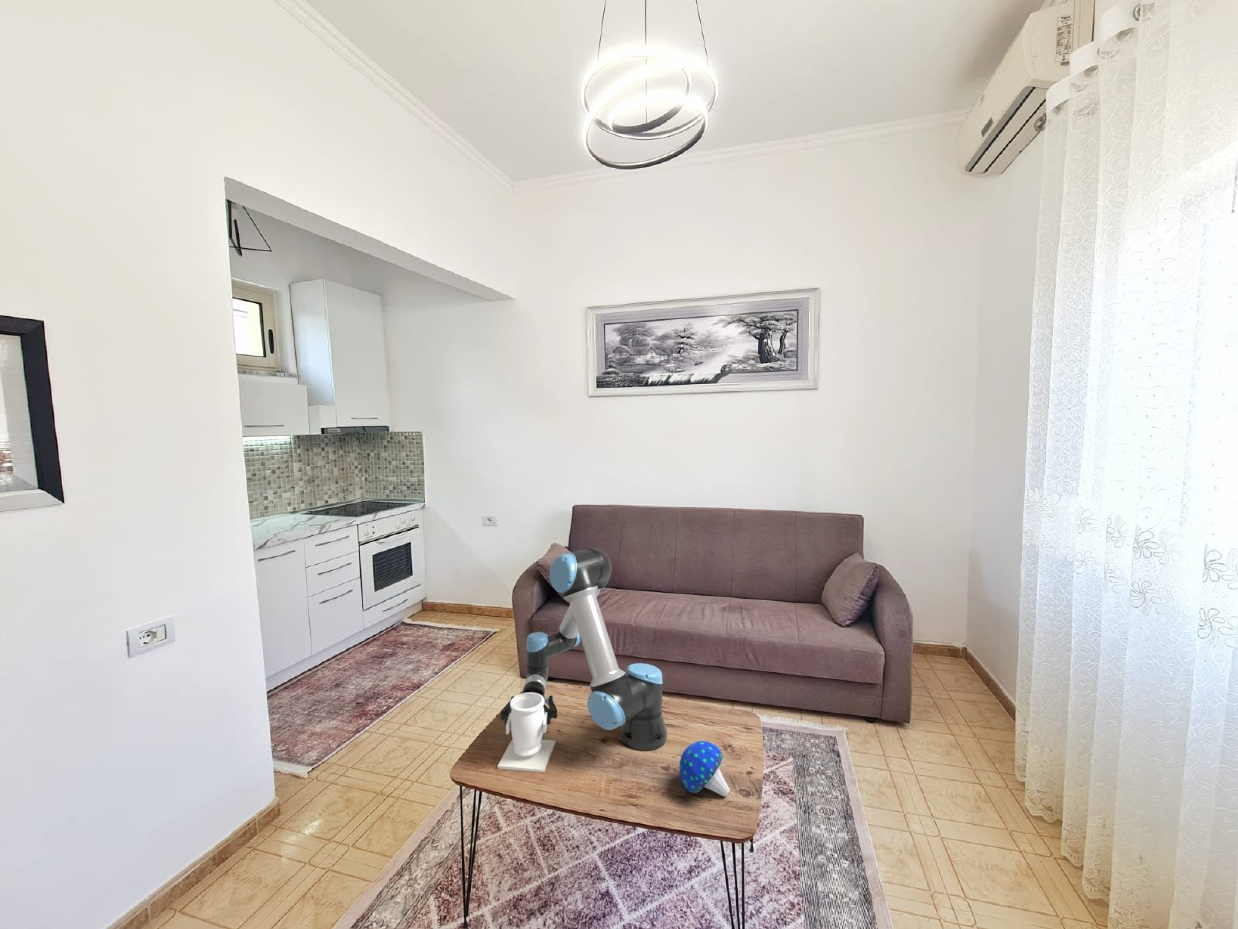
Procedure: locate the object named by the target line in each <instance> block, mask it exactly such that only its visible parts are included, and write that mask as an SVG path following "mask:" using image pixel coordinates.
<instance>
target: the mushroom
mask: <svg viewBox="0 0 1238 929" xmlns="http://www.w3.org/2000/svg"><path fill="white" fill-rule="evenodd" d="M721 751H722V750H721V749H720V747H719V746H717V745H716V744H714V743H712V742H710V741H705V740H699V741H694V742H693V743H691V744H689V745H688V746H687V747H686V748H685V749H684V751H683V752H682V754H681V756H680V759H679V774H680V779H681V782H682V783H683V786H684V787H685V789H686V790H687V792H689V793H692V794H696V793H699V792H700V791H701V790H702V789H703V788H705V789H708V790H711V791H712V792H715V793H716V794H718V795H719V796H722V797H723V796H724V797H723V798H726V797H727V795H728V794H729V792H730V790H731V789H730V787H729V786H728V784H727V781H726V780H725V778H724V776H723V773H722V772H721V770H720V765H721V764H722V760H723V759H724V756H723V754H722V752H721Z"/></svg>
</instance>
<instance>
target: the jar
mask: <svg viewBox="0 0 1238 929" xmlns="http://www.w3.org/2000/svg"><path fill="white" fill-rule="evenodd" d="M544 697H545V696H544ZM544 697H543V696H542V695H540V694H538V693H532V692H529V693H522V692H521V693H520V694H517V695H516V696H515V697H514V698H513V699H512V700H511V699H510V700H511V702H510V706H511V709H512V710H511V716H510V726H511V727H510V731H511V738H513V742H514V744H515V745H514V751H515V753H516V754H518V755H520V756H530V755H533V754H535V753H537V752H538V751H539V750H540V748H541V742H540V741H541V740H542V739H543V734H544V733H543V722H544V717H545V714H544V707H543V705H544V704H545V703H546V702H545V701H544ZM544 702H545V703H544Z"/></svg>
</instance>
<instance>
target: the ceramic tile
mask: <svg viewBox="0 0 1238 929" xmlns="http://www.w3.org/2000/svg"><path fill="white" fill-rule="evenodd" d="M511 738H512V737H511ZM540 742H541V748H540V750H539V751H538V752H537V753H535V754H533V755H530V756H520V755H518V754H516V753H515V751H514V745H515V744H514V742H513V738H512V739H511V740H510V742H509V744H508V746H507V748H506V750H505V752H504V753H503V755H502V757H501V759H500V761H499V762H498V764H497V769H499V770H511V771H524V772H533V773H534V772H535V773H545V771H546V767H547V765H548V764H549V761H550V757H551V755H552V753H553V750H554V748H555V745H556V740H554V739H553V740H552V739H551V740H549V739H541V741H540Z"/></svg>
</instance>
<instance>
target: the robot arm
mask: <svg viewBox="0 0 1238 929" xmlns="http://www.w3.org/2000/svg"><path fill="white" fill-rule="evenodd" d="M612 570H613V566H612V561H611V559H610V557H609V556H608V554H607V553H606V552H605V551H603V550H602V549H599V548H597V547H596V548H594V547H593V548H592V547H591V548H587V549H581V550H577V551H576V550H575V551H571V552H565V553H564V554H561V555H558V556H557V557H556V558H554V560H553V561H552V562H551V567H550V569H549V580H550V583H551V586H552V588H553V589H554V590H555V591H556V592H557V593H559V594H562V597H563V599H564V600H565V601H567V602H568V603H570V604H569V606H568V608H567V611H566V613H565V614H564V617H563V619H562V621H561V622H560V624H559V627H558V629H557V631H555V632H552V633H550V634H547V633H545V632H542V631H537V632H532V633H529V635H527V638H526V646H525V650H526V673H525V674H526V677H525V682H524V685H523V688H522V692H521V694H522V693H529V692H532V693H538V694H540V695H542V696H543V697H544V701H545V702H544V705H543V707H544V714H545V717H544V722H543V734H546V733H547V726H549V725H551V722H552V719H555V720H556V719H558V709H557V707H556V704H555V702H554V696H553V695H552V694H551V695H548V697H545V694H546V688H547V682H548V681H547V680H548V678H549V668H548V667H549V666H548V661H549V660H548V659H549V658H550V657H554V656H556V655H558V654H561V653H563V652H567V651H569V650H572V649H574V648H575V647H577V646H578V645H579V644H580V642H581V644H582V647H583V650H584V654H585V657H586V660H587V664H588V667H589V670H590V674H591V677H592V679H591V682H590V684H589V688H590V691H591V693H590V694H589V696H588V698H587V702H586V703H587V704H586V705H587V709H588V713H589V715H590V717H591V718H592V720H593V722H595V724H596V725H598V726H599V727H600V728H602V729H604V730H607V731H611V730H614V729H617V728H619V727H621V728H620V738H621V741H622V742H623V743H624V745H626V746H627V747H629V748H631V749H634V750H637V751H643V752H644V751H655V750H656V749H659V748H661V747H663V746H664V745H665V744H666V742H667V740H668V730H667V726H666V723H665V720H664V716H663V683H664V682H663V673H662V671H661V669H659V668H658V667H657V666H654V665H652V664H649V663H641V662H640V663H638V662H637V663H632V664H630V665H628V666H627V668H626V671H624V670H622V669H621V668H619V665H618V662H617V658H616V655H615V652H614V649H613V646H612V642H611V639H610V637H609V633H608V630H607V628H606V627H607V626H606V623H605V621H604V617H603V614H602V612H601V608H600V605H599V602H598V599H597V598H598V596H599V595H600V592H601V590H603V589H605V588H606V586H607V585H608V583H609V581H610V578H611V576H612ZM514 697H515V696H514V695H512V696H511V697H510V700H509V701H508V703H506V704H505V706H504V707H503V708H502V709H501V711H500V720H501V721H503V723H504V724H503V725H504V726H505V734H506V735H509V734H510V731H511V726H510V716H511V710H512V709H511V706H510V702H511V700H512V699H513V698H514ZM545 703H546V704H547V705H546V704H545Z"/></svg>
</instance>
